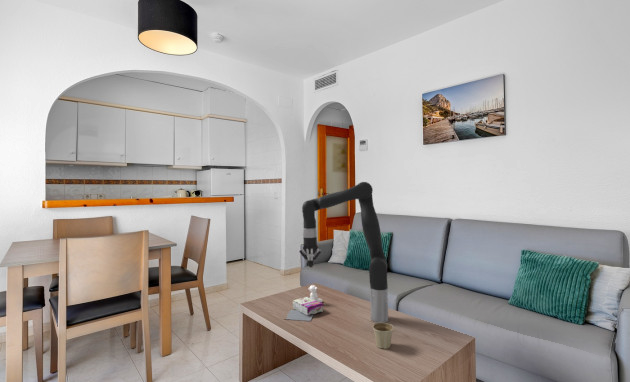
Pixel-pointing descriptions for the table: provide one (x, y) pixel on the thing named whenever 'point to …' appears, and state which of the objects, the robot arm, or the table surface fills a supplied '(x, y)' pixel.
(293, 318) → the mat
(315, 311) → the candy bar box
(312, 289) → the white creature statuette
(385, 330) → the flower pot
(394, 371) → the table surface
